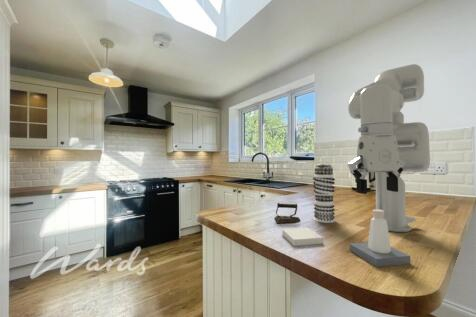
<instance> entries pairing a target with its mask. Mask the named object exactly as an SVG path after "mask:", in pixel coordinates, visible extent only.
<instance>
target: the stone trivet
mask: <svg viewBox="0 0 476 317" xmlns="http://www.w3.org/2000/svg"><path fill="white" fill-rule="evenodd" d="M281 232H282V234H281V235H282V236H283V237H284V238H285V239H286V240H287V241H288V242H289V243H290V244H291V245H292V246H293V247H296V246H299V247H300V246H308V245H309V246H310V245H312V246H313V245H322V244H324V237H323V236H322V235H319V234H318V233H317V232H315V231H314V230H312V228H309V227H300V228H299V227H298V228H284V229H283V228H282V230H281Z"/></svg>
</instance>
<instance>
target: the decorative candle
mask: <svg viewBox="0 0 476 317" xmlns="http://www.w3.org/2000/svg"><path fill="white" fill-rule="evenodd" d="M333 169H334V168H333V166H332V165H331V164H330V163H318V164H316V165H315V167H314V174H313V175H314V176H313V177H312V180H313V183H312V184H313V188H314V189H313V194H314V204H313V206H314V208H313V209H314V211H313V213H314V215H313V217H314V218H313V219H314V221H316V222H318V223H324V224H329V223H330V224H331V223H335V220H336V219H335V217H336V216H335V215H336V214H335V204H334V202H335V201H334V195H335V190H334V189H335V186H334V185H335V180H336V179H335V178H334V172H333V171H334V170H333Z"/></svg>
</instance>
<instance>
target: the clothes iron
mask: <svg viewBox="0 0 476 317" xmlns="http://www.w3.org/2000/svg"><path fill="white" fill-rule="evenodd" d="M279 208H281V209H285V208H286V209H288V208H289V209H295V210H294V214H290V215H279V214H278V211H279ZM297 211H298V203H295V204H293V203H280V202H277V204H276V211H275V215H276V216H274V221H275V223H276V224H277V225H278V224H279V225H284V224H287V225H288V224H295V223H300V222H301V219H300V217H298V216H296V215H297Z"/></svg>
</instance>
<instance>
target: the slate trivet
mask: <svg viewBox="0 0 476 317" xmlns="http://www.w3.org/2000/svg"><path fill="white" fill-rule="evenodd" d="M390 248H391V251H390V252H389V253H377V252H374V251H371V250H370V249H369V248H368V241H365V242H364V241H363V242H353V243H352V242H351V243H349V251H350V252H352V253H354V254H355V255H357V256H358V257H360V258H361V259H363V260H364V261H366V262H367V263H369V264H371V265H373V266H374V267H376V268H379V267H389V266H398V265H399V266H401V265H408V264H411V255H410V254H407V253H405V252H402V251H401V250H399V249H397V248H394V247H393V246H390Z"/></svg>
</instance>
